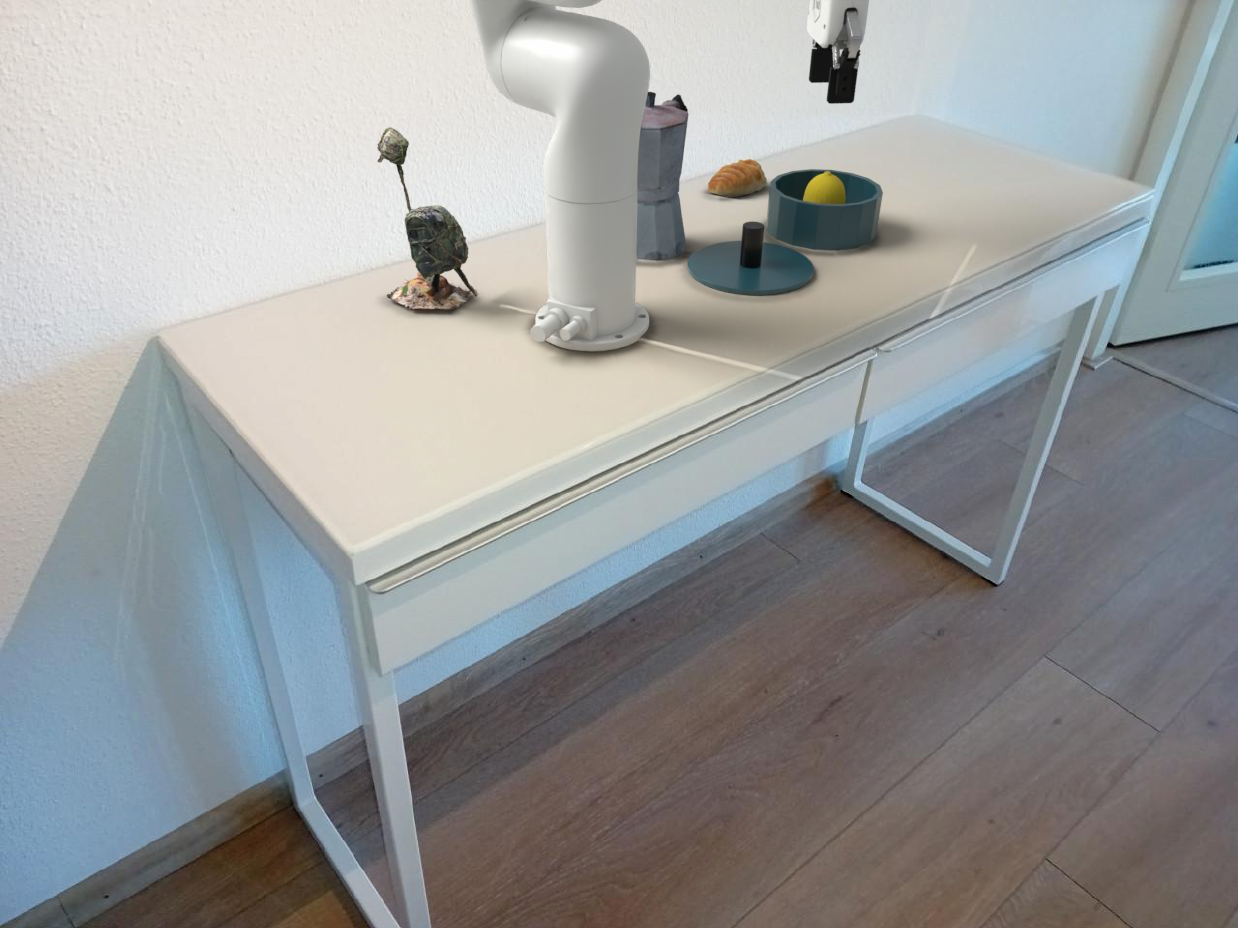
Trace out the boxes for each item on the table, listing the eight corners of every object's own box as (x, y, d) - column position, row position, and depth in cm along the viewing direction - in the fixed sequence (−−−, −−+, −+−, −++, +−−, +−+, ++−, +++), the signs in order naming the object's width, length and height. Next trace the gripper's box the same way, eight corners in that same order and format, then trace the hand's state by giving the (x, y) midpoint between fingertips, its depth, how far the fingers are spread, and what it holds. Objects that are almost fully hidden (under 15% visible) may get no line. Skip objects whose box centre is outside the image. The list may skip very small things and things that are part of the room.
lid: (787, 310, 112) (793, 259, 109) (666, 283, 118) (668, 234, 115) (828, 263, 124) (835, 216, 120) (716, 241, 129) (719, 195, 126)
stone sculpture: (441, 328, 108) (421, 146, 97) (378, 299, 114) (352, 124, 103) (495, 305, 113) (483, 129, 102) (432, 278, 119) (414, 109, 108)
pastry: (733, 204, 141) (734, 177, 139) (695, 194, 145) (696, 168, 143) (769, 187, 147) (771, 162, 145) (732, 178, 151) (734, 153, 149)
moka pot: (590, 263, 123) (588, 99, 112) (644, 224, 134) (648, 71, 123) (658, 278, 119) (663, 110, 108) (708, 236, 131) (718, 80, 119)
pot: (856, 262, 124) (864, 213, 120) (750, 241, 129) (754, 194, 126) (886, 225, 134) (894, 179, 131) (787, 208, 140) (792, 163, 136)
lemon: (839, 224, 134) (847, 165, 129) (842, 239, 129) (851, 179, 125) (798, 222, 134) (805, 164, 130) (800, 237, 130) (807, 177, 125)
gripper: (799, -73, 118) (786, 75, 128) (833, -53, 104) (816, 112, 114) (860, -74, 119) (842, 74, 129) (903, -54, 105) (879, 111, 114)
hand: (830, 92), depth 121 cm, fingers open, 9 cm apart
